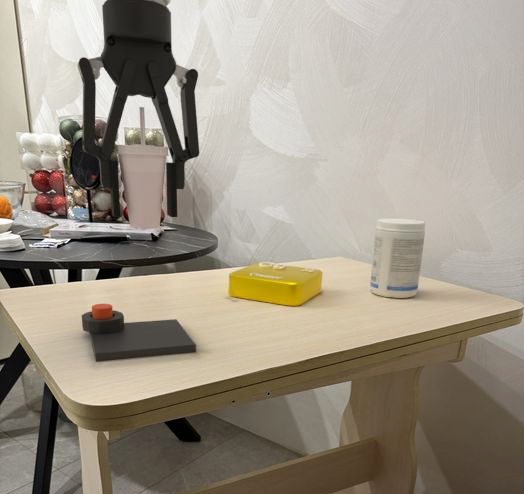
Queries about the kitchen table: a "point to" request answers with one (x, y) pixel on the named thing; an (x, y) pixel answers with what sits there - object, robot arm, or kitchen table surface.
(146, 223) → the smoothie
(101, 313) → the scale button
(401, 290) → the supplement tub
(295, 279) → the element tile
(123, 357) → the scale
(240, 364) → the kitchen table surface
